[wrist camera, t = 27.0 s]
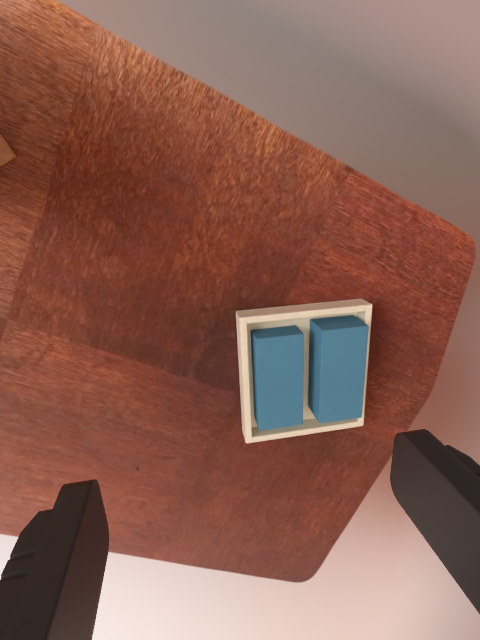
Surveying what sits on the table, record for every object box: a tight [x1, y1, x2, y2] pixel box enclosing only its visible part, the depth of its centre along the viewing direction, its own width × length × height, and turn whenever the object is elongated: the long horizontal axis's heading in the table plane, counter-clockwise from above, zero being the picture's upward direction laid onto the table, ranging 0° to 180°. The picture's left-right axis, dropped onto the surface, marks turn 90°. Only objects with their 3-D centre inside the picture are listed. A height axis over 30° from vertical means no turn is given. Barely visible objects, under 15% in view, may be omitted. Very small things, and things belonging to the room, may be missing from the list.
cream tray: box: [236, 298, 372, 443], centre depth 45 cm, size 16×17×3 cm
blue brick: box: [251, 325, 304, 431], centre depth 44 cm, size 6×12×3 cm, turn 3°
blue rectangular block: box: [308, 315, 369, 423], centre depth 44 cm, size 6×12×4 cm, turn 3°
